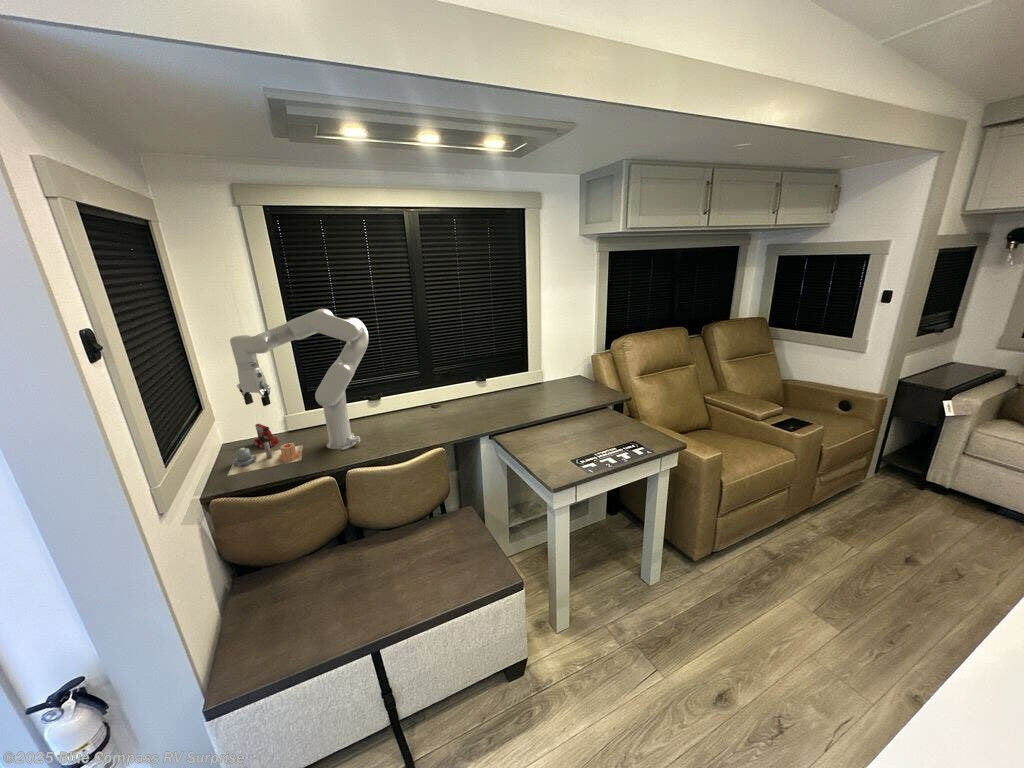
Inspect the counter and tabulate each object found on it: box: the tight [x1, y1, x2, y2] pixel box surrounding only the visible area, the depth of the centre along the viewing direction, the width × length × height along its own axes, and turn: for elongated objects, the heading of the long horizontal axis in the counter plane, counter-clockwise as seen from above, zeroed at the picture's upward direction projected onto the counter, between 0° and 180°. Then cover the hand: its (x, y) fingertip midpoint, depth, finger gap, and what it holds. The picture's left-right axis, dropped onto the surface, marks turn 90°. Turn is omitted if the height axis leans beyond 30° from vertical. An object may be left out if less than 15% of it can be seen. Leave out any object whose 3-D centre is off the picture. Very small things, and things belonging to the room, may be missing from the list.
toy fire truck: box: [253, 423, 280, 450], centre depth 177 cm, size 7×12×10 cm, turn 57°
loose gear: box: [279, 442, 300, 462], centre depth 163 cm, size 8×8×6 cm
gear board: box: [226, 442, 304, 477], centre depth 162 cm, size 26×16×8 cm, turn 116°
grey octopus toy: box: [232, 447, 257, 468], centre depth 160 cm, size 8×8×7 cm
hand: (258, 404), depth 164 cm, fingers open, 9 cm apart
